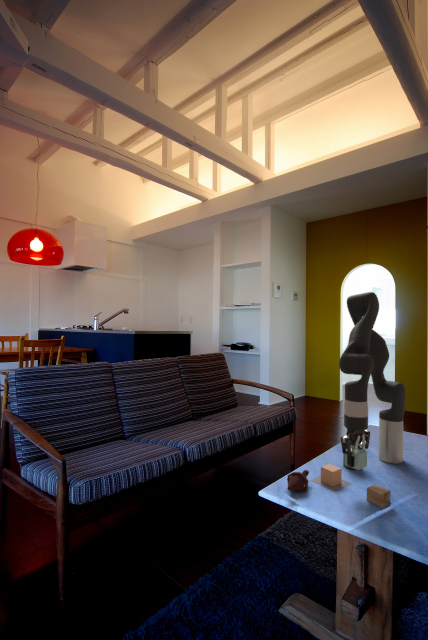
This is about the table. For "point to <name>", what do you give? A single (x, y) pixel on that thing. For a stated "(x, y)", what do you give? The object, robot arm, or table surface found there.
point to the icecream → (298, 481)
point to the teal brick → (358, 459)
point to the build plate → (334, 488)
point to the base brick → (331, 474)
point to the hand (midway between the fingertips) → (355, 464)
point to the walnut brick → (378, 495)
